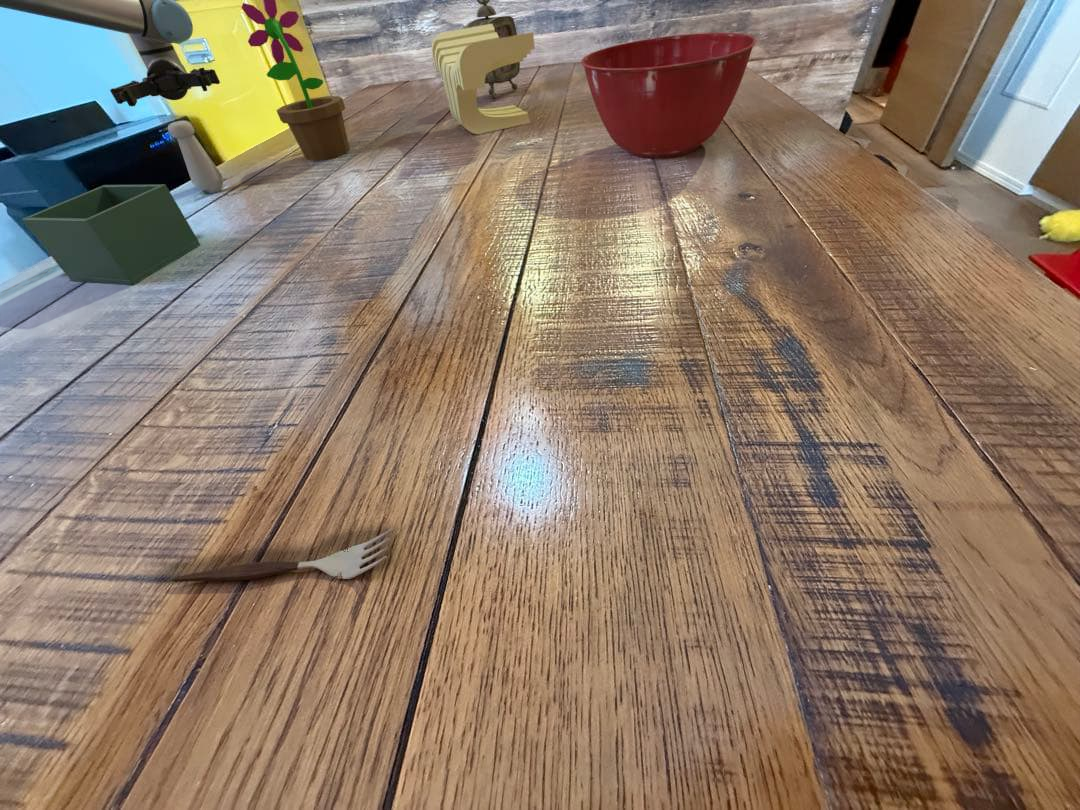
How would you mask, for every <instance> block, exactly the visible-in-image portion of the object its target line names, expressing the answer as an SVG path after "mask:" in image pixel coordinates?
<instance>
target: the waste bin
mask: <svg viewBox="0 0 1080 810" xmlns="http://www.w3.org/2000/svg"><path fill="white" fill-rule="evenodd" d="M21 220H22V222H23V223H24V224H25V225H26V227H27V228H28V229H29V230H30V232H31V233H32V235H33V236H34V237H35V238H36V239H37V240H38V242H39V243H40V244H41V245H42V247H43V248H44V249H45V250H46V252H47V253H48V254H49V256H50V257H51V258H52V259H53V261H54V262H55V263H56V264H57V265H58V266H59V268H60V269H61V270H62V272H63V273H64V274H65V275H66V276H67V278H68V279H69V280H70V281H71V282H81V283H97V284H98V283H99V284H112V285H124V286H135V285H136V284H137V283H139V282H140V281H142V280H144V279H146V278H147V277H149V276H151V275H153V274H155V273H156V272H157V271H159V270H161V269H162V268H164V267H166V266H167V265H169V264H171V263H173V262H174V261H176V260H177V259H179V258H181V257H183V256H184V255H186V254H188V253H190V252H191V251H193V250H194V249H196V248H198V247H200V246H201V243H200V240H199V239H198V237H197V236H196V234H195V232H194V231H193V229H192V227H191V226H190V224H189V222H188V220H187V219H186V217H185V215H184V214H183V212H182V210H181V208H180V207H179V205H178V204H177V201H176V200H175V199H174V196H173V195H172V193H171V191H170V189H169V188H168V187H167V185H166V184H165V183H163V184H162V183H161V184H103V185H101V186H98V187H96V188H94V189H93V188H92V189H91V190H88V191H86V192H84V193H82V194H79V195H77V196H75V197H71V198H69V199H67V200H64V201H62V202H60V203H58V204H55V205H53V206H49V207H47V208H45V209H43V210H41V211H38V212H36V213H33V214H30V215H28V216H26V217H23V218H22V219H21Z"/></svg>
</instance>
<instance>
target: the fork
mask: <svg viewBox="0 0 1080 810" xmlns="http://www.w3.org/2000/svg"><path fill="white" fill-rule="evenodd" d="M392 531H393V528H389V529H387V530H386V531H385V532H383V533H381V534H379V535H378V536H376V537H374V538H372V539H370V540H368V541H365V542H362V543H360V544H356V545H353V546H351V548H350V547H347V548H348V550H347V548H345V549H346V550H345V549H342V550H339V551H338V552H336V553H335V552H334V553H332V554H331V555H328V556H325V557H322V558H320V559H316V560H310V561H256V562H247V563H241V564H235V565H231V566H227V567H221V568H215V569H211V570H210V569H209V570H204V571H199V572H193V573H189V574H184V575H179V576H175V577H172V578H171V582H181V583H183V582H207V581H210V582H211V581H248V580H255V579H261V578H266V577H271V576H275V575H279V574H284V573H289V572H293V571H298V570H303V569H309V568H311V569H312V568H314V569H317V570H319V571H322V572H324V573H325V574H327V575H328V576H330V577H332V576H334V577H335V576H337V575H338V574H339V573H340V572H342V573H340V574H342V575H341V576H342V577H343V579H344V578H345V579H348V580H351V579H354V578H355V577H358V576H360V575H362V574H364V573H365V572H367V571H369V570H370V569H372V568H374V567H376V566H377V565H378V564H381V563H382V562H383V561H385V560H387V559H388V556H387V555H385V556H383V557H382V558H380V559H378V560H376V561H374V562H372V563H370V564H369V565H367V566H364V565H365V564H367V563H368V562H370V561H372V560H374V559H375V558H377V557H379V556H380V555H381V554H383V553H385V552H386V551H387V550H389V549H390V548H389V547H388V546H386V547H384V548H382V549H381V550H380V551H377V552H376V553H373V554H372V555H370V556H368V557H366V558H364V557H365V556H367V555H369V554H370V553H372V552H374V551H375V550H377V549H379V548H380V547H381V546H383V545H384V544H387V543H388V542H389V541H390V540H391V537H387V538H386V539H385V540H383V541H380V542H379V543H377V544H376V545H373V544H374V543H375V542H377V541H379V540H381V539H382V538H384V537H385V536H386V535H388V534H390V533H391V532H392ZM370 545H373V546H372V547H370V548H367V547H369V546H370ZM343 550H344V551H345V552H344V551H343ZM347 551H348V552H347ZM362 566H364V567H362ZM361 567H362V568H361ZM340 574H339V575H340ZM339 575H338V576H339ZM334 577H333V578H334ZM342 577H341V578H342Z"/></svg>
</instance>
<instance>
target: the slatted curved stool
mask: <svg viewBox="0 0 1080 810" xmlns="http://www.w3.org/2000/svg"><path fill="white" fill-rule="evenodd" d="M534 37H535V36H534V31H531V32H527V33H520V34H517V35H515V36H510V37H504V38H499V36H498V34H497V32H495V29H494V27H493V25H492V24H487V25H482V26H476V27H471V28H465V29H464V28H460V29H454V30H449V31H443V32H441V33H438V34H437V35H436V36H435V37H434V38H433V40H432V43H431V47H430V48H431V50H430V53H431V57H432V62H433V66H434V71H435V73H439V75H440V77H441V80H443V86H444V89H445V93H446V97H447V101H448V106H449V111H450V113H451V115H452V117H453V118H454V119H455V121H456V122H458V123H459V124H460V125H461V126H462V127H463V128H464V129H465V130H467V131H468V132H470V133H472V134H475V135H482V134H486V133H492V132H496V131H500V130H506V129H509V128H514V127H518V126H523V125H528V124H531V120H530V115H529V113H528V111H525V110H523V109H522V108H520V107H518V106H517V105H515V104H512V105H511V104H510V105H507V106H500V107H491V108H479V107H478V104H477V93H478V89H482V88H485V84H486V83H485V77H486V74H487V73H489V72H491V71H493V70H495V69H497V68H500V67H503V66H506V65H509V64H513V63H517V62H520V63H521V62H524V59H526V58H528V55H530V54H532V51H534V50H536V46H535V38H534Z"/></svg>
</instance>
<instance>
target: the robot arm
mask: <svg viewBox="0 0 1080 810" xmlns="http://www.w3.org/2000/svg"><path fill="white" fill-rule="evenodd" d="M0 8H3V9H7V10H13V11H17V12H21V13H28V14H30V15H31V14H32V15H35V16H36V15H37V16H42V17H47V18H52V19H56V20H60V21H65V22H69V23H70V22H71V23H75V24H79V25H85V26H89V27H94V28H99V29H103V30H107V31H113V32H116V33H117V32H118V33H122V34H127V35H128V36H129V38H130V40H131V42H132V43H133V45H134V47H135V49H136V50H137V52H138V54H139V56H140V58H141V60H142V62H143V64H144V66H145V68H146V77H143V78H142V81H138V80H131V81H130V82H129V83H125V84H122V85H120V86H118V87H113V88H111V89H109V91H110V93H111V95H112V97H113V98H114V100H115V102H116V103H117V104H120V105H121V104H124V103H127V105H128V107H135V106H136V105H137V103H138V100H140V99H143V98H146V97H149V96H151V97H158V96H160V97H161V98H164V99H166V100H169V101H178V100H182V99H184V97H186V96H187V94H188V91H189V90H191V89H192V88H198V87H200V88H201V89H202V91H203V92H208V87H211V86H212V85H219V84H221V81H220V79H219V77H218V75H217V73H216V70H215V69H212V68H210V69H205V67H200V68H198V69H197V68H193V69H192V70H190V71H189V72H187V69H186V67H185V66H184V64H182V61H181V59H180V58H179V55H178V53H177V51H176V49H175V47H174V45H173V44H177V45H179V44H183V43H184V42H187V41H188V40H190V39H191V37H192V35H193V33H194V32H193V31H194V25H193V22H192V18H191V17H190V14H189V13H188V11H187V10H186V9H185V8H184V7H183V6H182V5H181V4H180V3H179V2H177V1H175V0H0Z"/></svg>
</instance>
